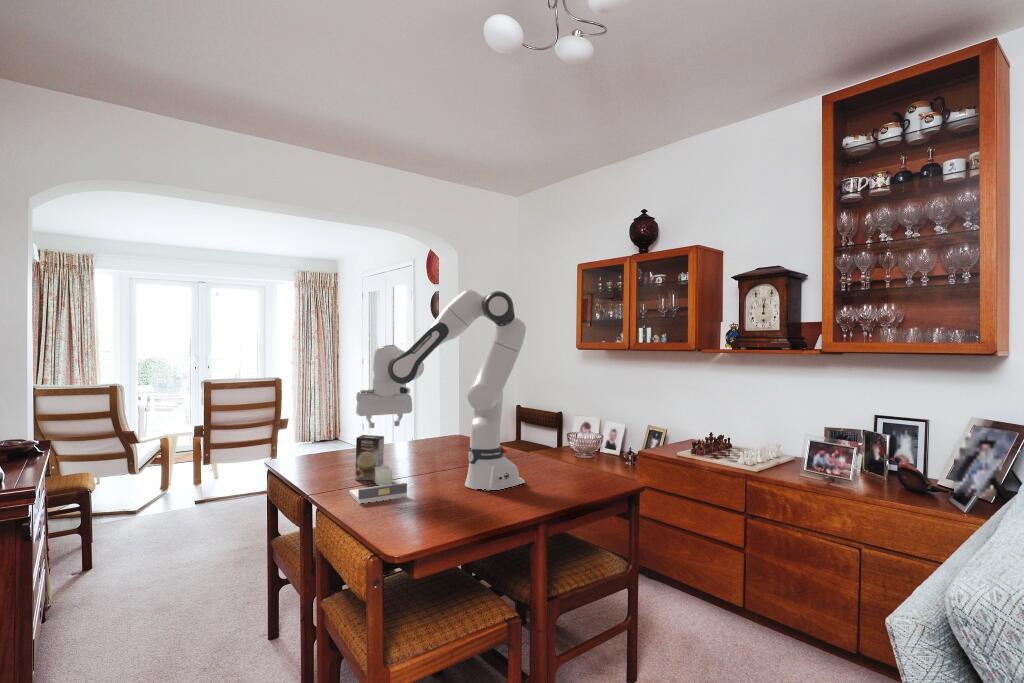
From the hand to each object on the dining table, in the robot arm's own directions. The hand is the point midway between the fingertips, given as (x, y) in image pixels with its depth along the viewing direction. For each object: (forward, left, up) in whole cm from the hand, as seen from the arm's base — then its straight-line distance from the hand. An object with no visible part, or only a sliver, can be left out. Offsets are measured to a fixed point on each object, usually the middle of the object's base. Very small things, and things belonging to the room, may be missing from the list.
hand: (384, 426), depth 186 cm
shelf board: (+6, +12, -21) cm, 25 cm away
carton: (0, 0, -21) cm, 21 cm away
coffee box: (+2, -11, -21) cm, 24 cm away
